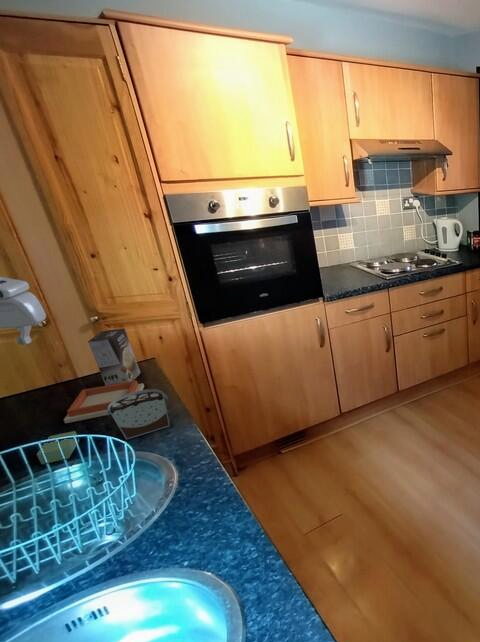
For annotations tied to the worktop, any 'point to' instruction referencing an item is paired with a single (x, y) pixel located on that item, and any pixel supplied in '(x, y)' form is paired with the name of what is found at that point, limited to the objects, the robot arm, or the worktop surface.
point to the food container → (140, 412)
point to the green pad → (53, 450)
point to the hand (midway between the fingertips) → (2, 345)
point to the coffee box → (114, 356)
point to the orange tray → (98, 400)
